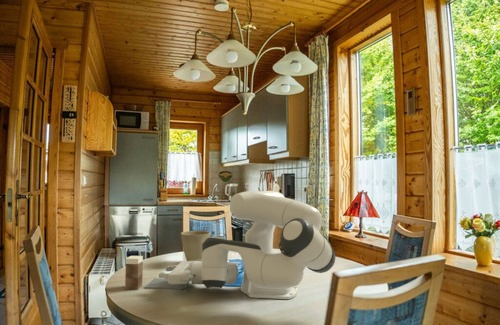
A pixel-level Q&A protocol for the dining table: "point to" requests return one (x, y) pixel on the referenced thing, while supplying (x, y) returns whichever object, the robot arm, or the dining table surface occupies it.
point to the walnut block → (133, 272)
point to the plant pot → (193, 244)
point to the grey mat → (164, 285)
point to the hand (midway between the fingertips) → (162, 271)
